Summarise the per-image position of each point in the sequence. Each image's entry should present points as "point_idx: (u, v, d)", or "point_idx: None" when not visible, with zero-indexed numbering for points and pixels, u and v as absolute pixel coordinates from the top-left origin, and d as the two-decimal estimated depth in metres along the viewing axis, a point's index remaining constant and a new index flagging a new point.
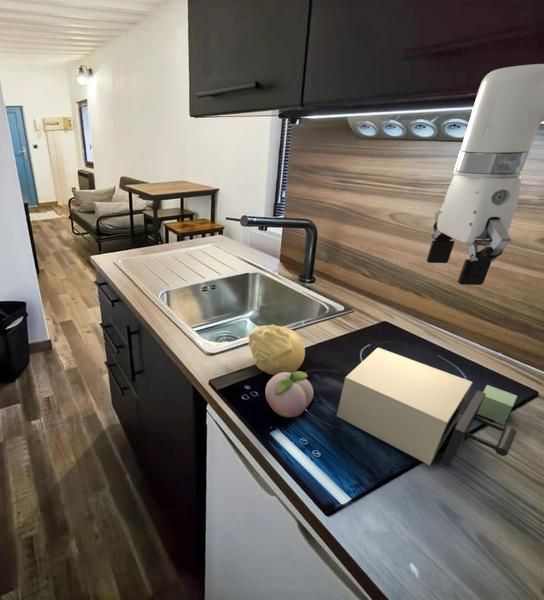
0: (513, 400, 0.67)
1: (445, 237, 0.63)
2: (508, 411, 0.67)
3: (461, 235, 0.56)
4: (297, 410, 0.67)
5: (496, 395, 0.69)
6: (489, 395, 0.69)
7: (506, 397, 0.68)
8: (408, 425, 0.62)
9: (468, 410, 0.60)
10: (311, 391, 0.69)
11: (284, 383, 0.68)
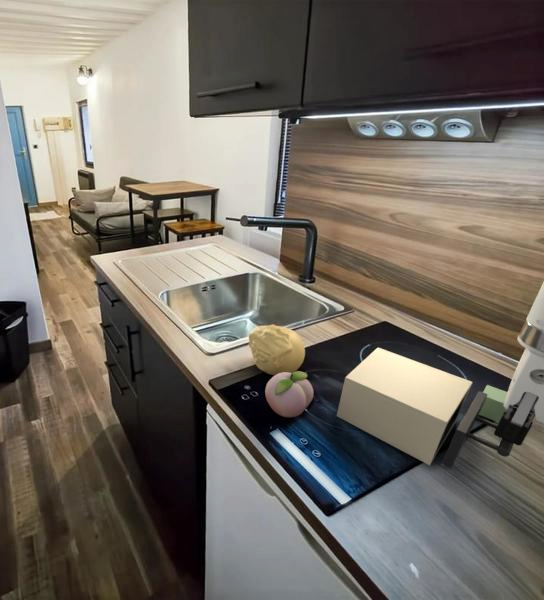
0: None
1: None
2: None
3: None
4: (297, 410, 0.67)
5: (496, 395, 0.69)
6: (489, 395, 0.69)
7: None
8: (408, 425, 0.62)
9: (469, 411, 0.60)
10: (311, 391, 0.69)
11: (284, 383, 0.68)
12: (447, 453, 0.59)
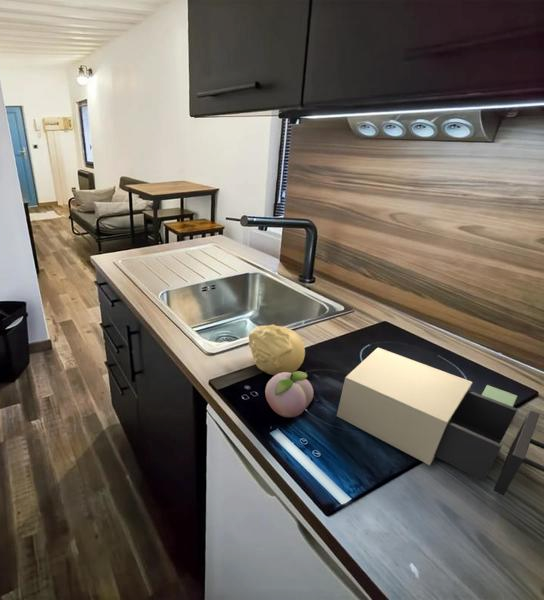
0: (513, 400, 0.67)
1: None
2: None
3: None
4: (297, 410, 0.67)
5: (496, 395, 0.69)
6: (489, 395, 0.69)
7: (506, 397, 0.68)
8: (408, 425, 0.62)
9: (524, 434, 0.55)
10: (311, 391, 0.69)
11: (284, 383, 0.68)
12: (500, 479, 0.54)
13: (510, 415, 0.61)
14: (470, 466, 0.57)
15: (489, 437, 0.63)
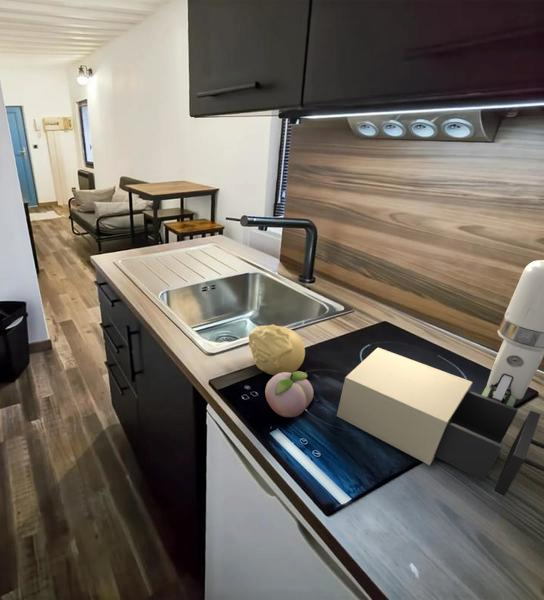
0: (513, 400, 0.67)
1: None
2: None
3: None
4: (297, 410, 0.67)
5: None
6: None
7: None
8: (408, 425, 0.62)
9: (524, 434, 0.55)
10: (311, 391, 0.69)
11: (284, 383, 0.68)
12: (501, 480, 0.54)
13: (511, 416, 0.60)
14: (471, 466, 0.57)
15: (490, 437, 0.63)
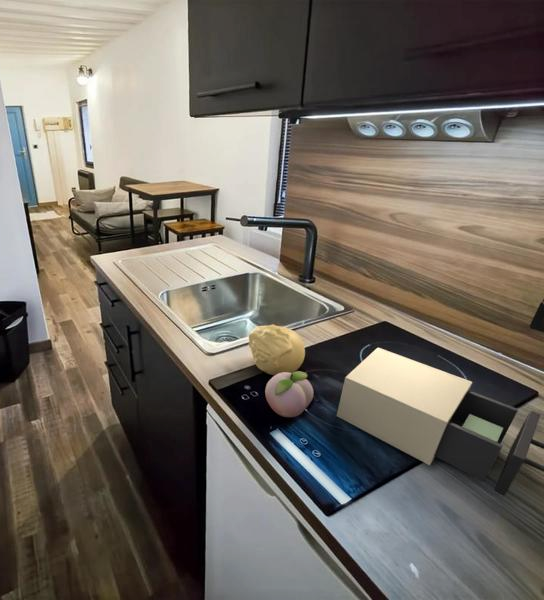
0: (498, 434, 0.58)
1: None
2: None
3: None
4: (297, 410, 0.67)
5: (479, 427, 0.60)
6: (471, 427, 0.60)
7: (490, 430, 0.59)
8: (408, 425, 0.62)
9: (524, 434, 0.55)
10: (311, 391, 0.69)
11: (284, 383, 0.68)
12: (501, 480, 0.54)
13: (511, 416, 0.60)
14: (471, 466, 0.57)
15: None
